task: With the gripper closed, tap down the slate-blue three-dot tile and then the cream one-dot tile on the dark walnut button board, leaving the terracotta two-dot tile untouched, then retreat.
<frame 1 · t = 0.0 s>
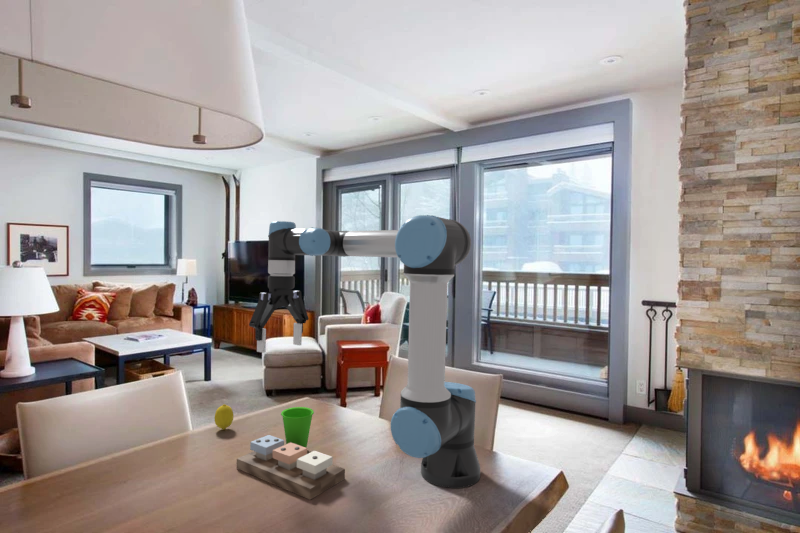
hand: (280, 348, 132), 28 cm above the table, fingers open, 13 cm apart
lemon: (223, 430, 142), on the table
tile two: (289, 457, 115), point 4 cm above the table, slide at 0.0 cm
board: (289, 473, 115), on the table
cup: (296, 451, 128), on the table
tile three: (267, 448, 119), point 4 cm above the table, slide at 0.0 cm
tile one: (314, 466, 110), point 4 cm above the table, slide at 0.0 cm
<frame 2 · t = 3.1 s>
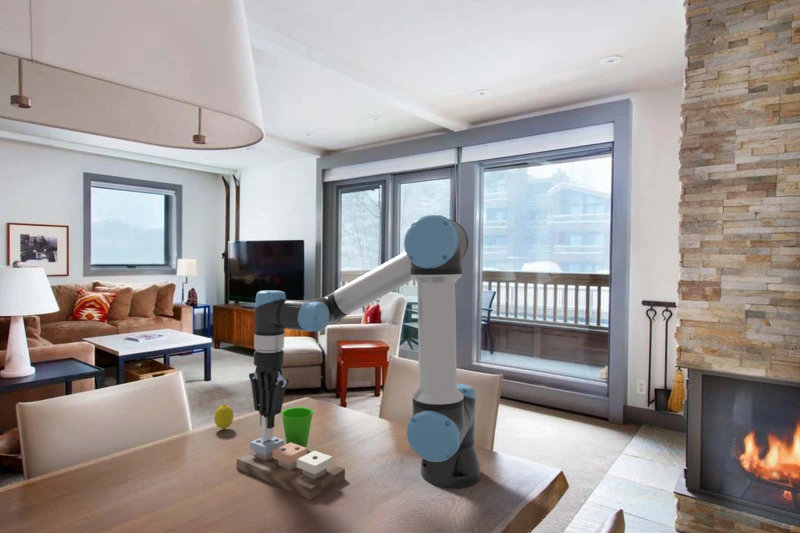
hand: (266, 439, 119), 7 cm above the table, fingers closed
tile three: (267, 448, 119), point 4 cm above the table, slide at 0.0 cm, touching gripper
everything else where it was.
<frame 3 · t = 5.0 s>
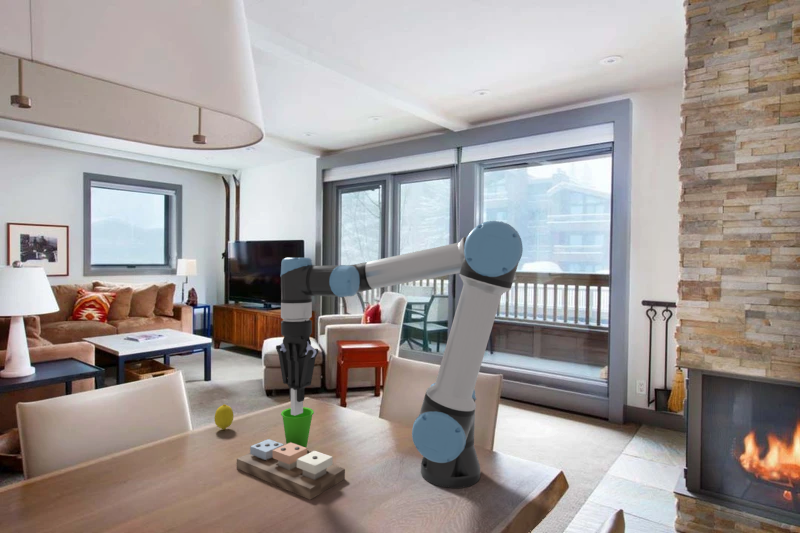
hand: (296, 413, 114), 16 cm above the table, fingers closed
tile three: (267, 453, 119), point 3 cm above the table, slide at 1.1 cm
everything else where it was.
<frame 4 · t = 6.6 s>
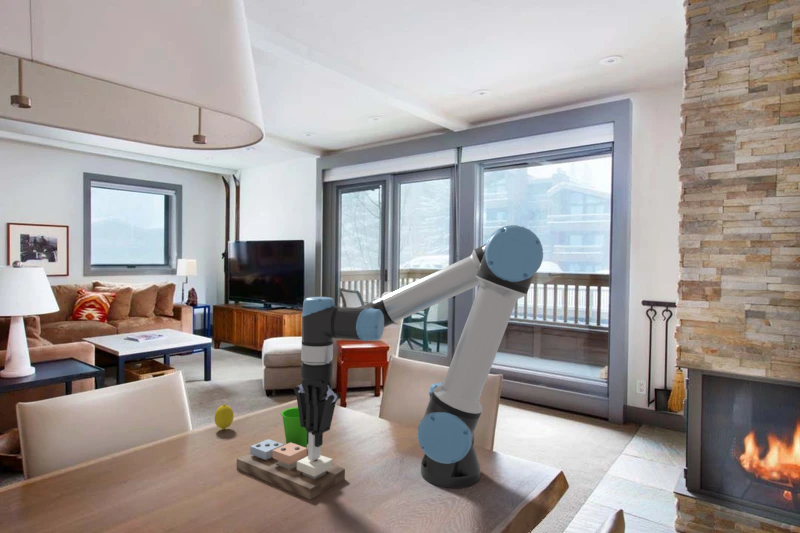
hand: (314, 458, 110), 6 cm above the table, fingers closed
tile one: (314, 468, 110), point 4 cm above the table, slide at 0.6 cm, touching gripper
everything else where it was.
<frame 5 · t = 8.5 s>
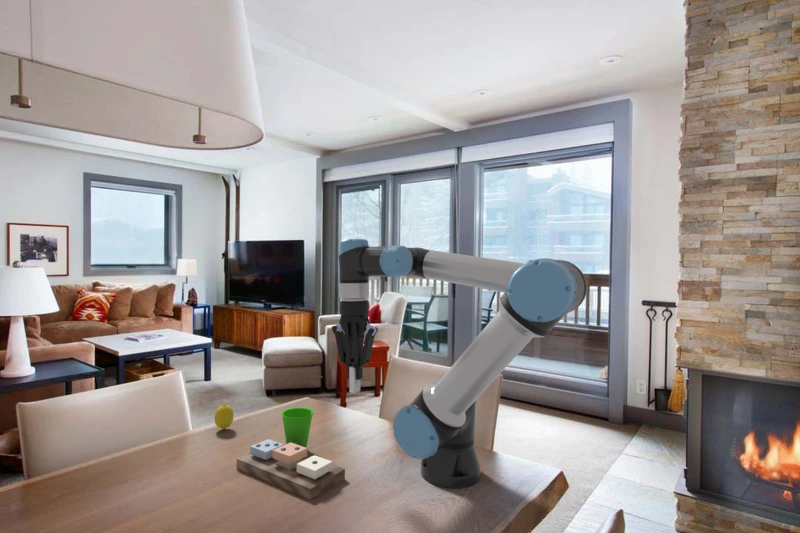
hand: (354, 391, 116), 21 cm above the table, fingers closed
tile one: (314, 471, 110), point 3 cm above the table, slide at 1.2 cm
everything else where it was.
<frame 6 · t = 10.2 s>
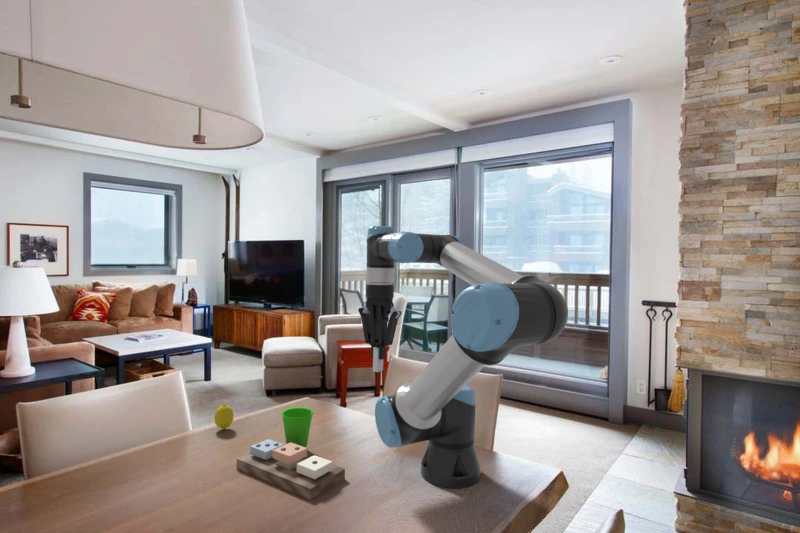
hand: (377, 370, 123), 24 cm above the table, fingers closed
nothing on the table moved.
at the end: tile three slide at 1.1 cm; tile one slide at 1.2 cm; tile two slide at 0.0 cm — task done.
